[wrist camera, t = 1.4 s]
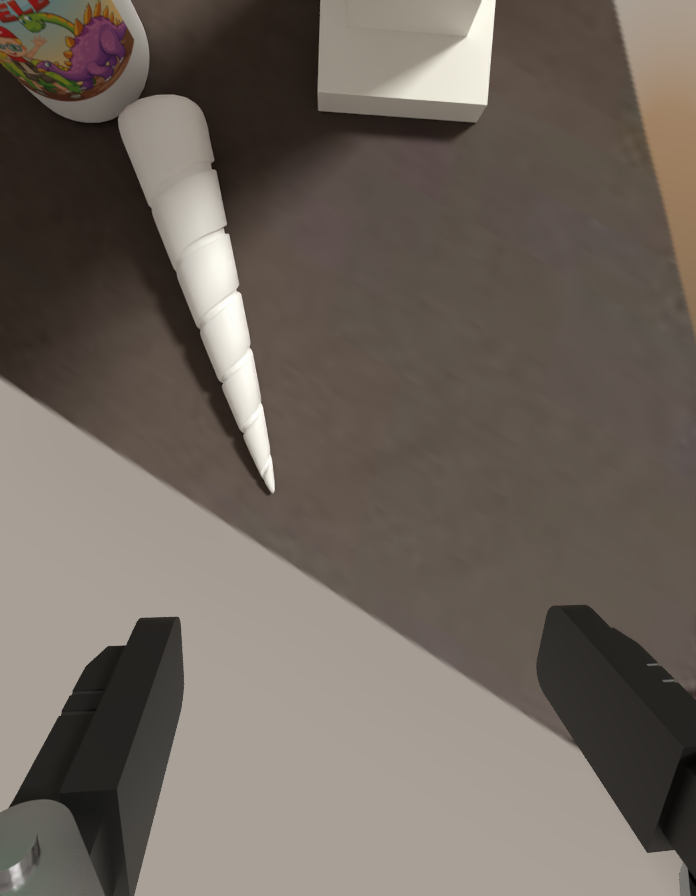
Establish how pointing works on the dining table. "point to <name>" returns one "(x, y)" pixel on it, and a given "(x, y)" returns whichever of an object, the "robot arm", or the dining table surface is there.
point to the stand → (405, 57)
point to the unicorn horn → (198, 247)
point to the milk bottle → (76, 54)
